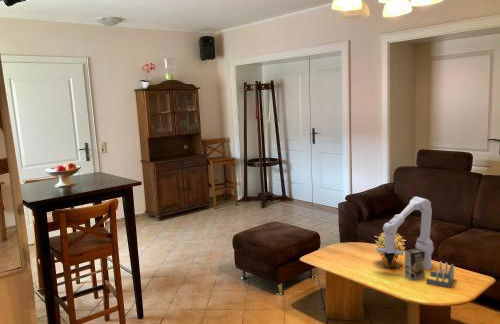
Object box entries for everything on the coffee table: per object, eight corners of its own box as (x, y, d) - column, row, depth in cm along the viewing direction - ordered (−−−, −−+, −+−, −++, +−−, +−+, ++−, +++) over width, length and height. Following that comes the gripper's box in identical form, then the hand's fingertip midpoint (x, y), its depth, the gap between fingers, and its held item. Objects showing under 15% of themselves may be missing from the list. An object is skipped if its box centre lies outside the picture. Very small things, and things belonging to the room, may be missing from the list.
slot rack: (430, 275, 237) (430, 259, 236) (453, 279, 231) (453, 263, 229) (426, 283, 227) (426, 267, 225) (450, 288, 220) (450, 271, 219)
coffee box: (411, 280, 232) (411, 253, 230) (404, 276, 238) (404, 250, 236) (425, 278, 234) (425, 251, 232) (417, 273, 240) (417, 247, 238)
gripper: (375, 243, 242) (376, 264, 244) (400, 246, 234) (401, 269, 236) (379, 239, 248) (379, 261, 250) (403, 243, 240) (403, 264, 242)
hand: (390, 264), depth 243 cm, fingers closed
